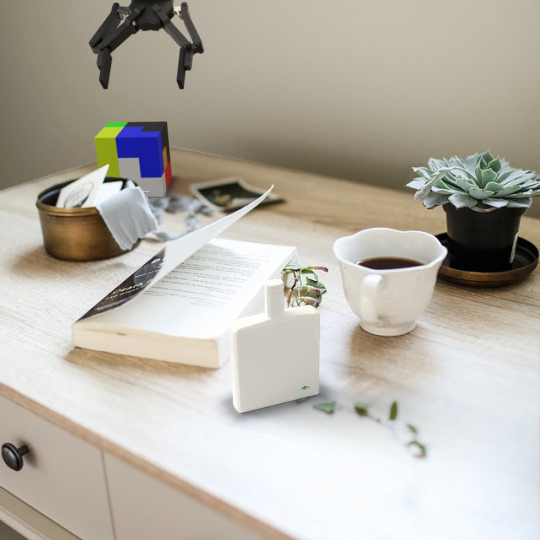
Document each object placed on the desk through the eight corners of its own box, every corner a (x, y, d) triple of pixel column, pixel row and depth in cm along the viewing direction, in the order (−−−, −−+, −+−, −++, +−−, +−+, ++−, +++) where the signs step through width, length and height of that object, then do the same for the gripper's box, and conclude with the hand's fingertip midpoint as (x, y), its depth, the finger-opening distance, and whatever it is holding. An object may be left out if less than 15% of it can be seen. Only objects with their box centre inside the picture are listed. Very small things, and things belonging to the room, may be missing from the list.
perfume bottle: (312, 382, 63) (313, 269, 58) (320, 394, 62) (322, 278, 56) (231, 401, 61) (224, 285, 56) (237, 414, 59) (231, 295, 54)
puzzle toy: (163, 196, 110) (157, 136, 105) (102, 197, 110) (94, 137, 106) (172, 177, 119) (167, 121, 114) (115, 178, 119) (108, 122, 115)
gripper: (224, -2, 125) (216, 97, 119) (95, 0, 127) (79, 96, 121) (219, -31, 118) (209, 71, 111) (81, -30, 120) (63, 71, 114)
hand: (141, 85), depth 116 cm, fingers open, 13 cm apart
